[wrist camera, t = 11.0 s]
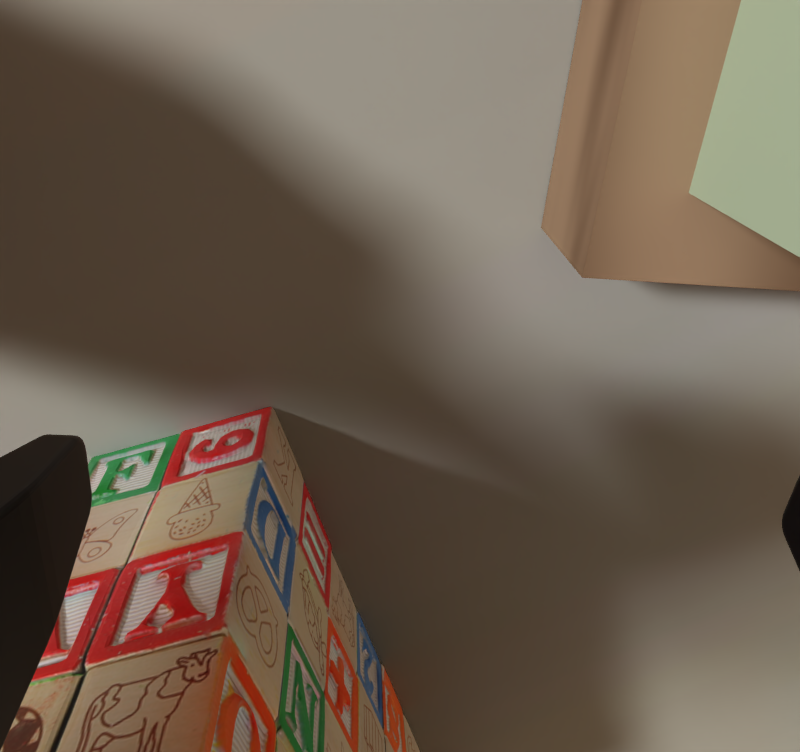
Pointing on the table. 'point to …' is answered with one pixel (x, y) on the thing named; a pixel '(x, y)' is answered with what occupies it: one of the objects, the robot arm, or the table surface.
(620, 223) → the walnut base
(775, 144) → the green cube
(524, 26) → the table surface
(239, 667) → the stack of blocks
